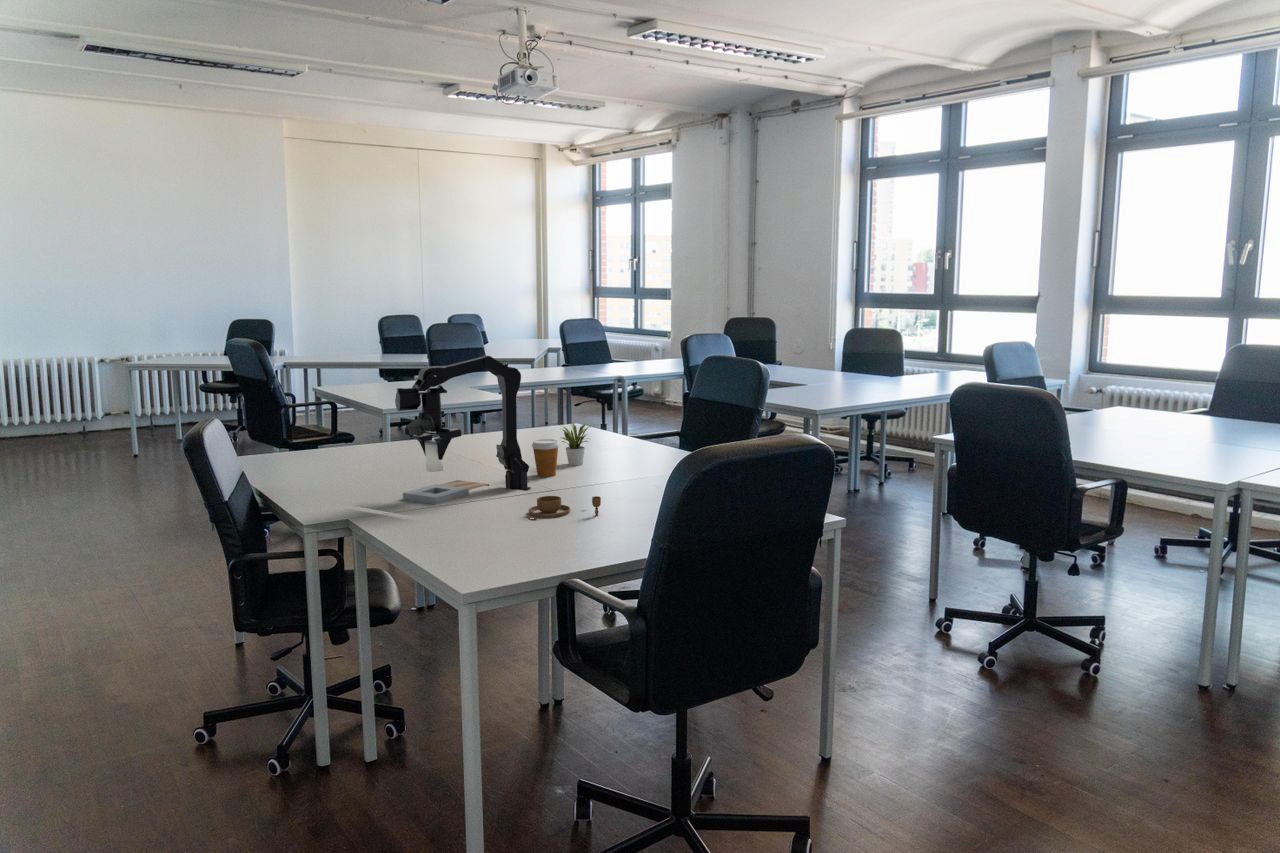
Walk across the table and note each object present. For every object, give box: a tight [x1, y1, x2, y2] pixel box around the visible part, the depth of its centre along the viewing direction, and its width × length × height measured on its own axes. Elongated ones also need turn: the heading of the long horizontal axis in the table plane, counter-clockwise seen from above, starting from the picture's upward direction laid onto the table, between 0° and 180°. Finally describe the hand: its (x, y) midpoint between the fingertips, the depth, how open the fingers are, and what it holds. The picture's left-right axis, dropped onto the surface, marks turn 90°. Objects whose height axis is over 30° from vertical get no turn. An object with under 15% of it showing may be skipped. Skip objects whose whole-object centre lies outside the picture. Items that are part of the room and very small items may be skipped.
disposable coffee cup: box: [531, 438, 560, 478], centre depth 314 cm, size 10×10×12 cm
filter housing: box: [402, 483, 470, 505], centre depth 280 cm, size 14×14×3 cm
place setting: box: [523, 495, 602, 521], centre depth 258 cm, size 18×20×6 cm
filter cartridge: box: [425, 439, 444, 473], centre depth 278 cm, size 5×5×9 cm
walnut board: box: [440, 479, 490, 491], centre depth 295 cm, size 14×14×1 cm
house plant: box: [560, 422, 596, 466], centre depth 333 cm, size 14×14×16 cm
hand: (434, 458), depth 278 cm, fingers closed on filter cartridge, 5 cm apart
